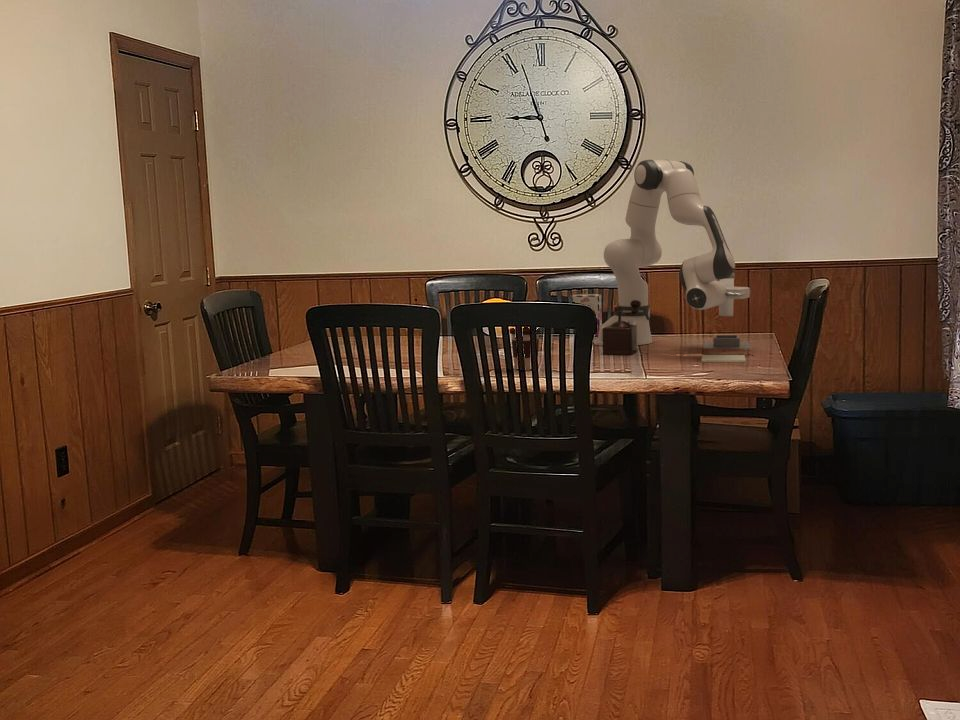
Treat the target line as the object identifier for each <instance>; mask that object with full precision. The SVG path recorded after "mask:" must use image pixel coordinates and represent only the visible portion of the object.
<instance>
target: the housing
mask: <svg viewBox="0 0 960 720" xmlns="http://www.w3.org/2000/svg"><path fill="white" fill-rule="evenodd" d="M712 339H713V341H704V342H703V348H702V349H731V350H733V349H735V350H736V349H737V350H738V349H739V350H740V349H742V350H743V349H751V345H750V342H749V341H740V340H741V337H740V334H713V338H712Z"/></svg>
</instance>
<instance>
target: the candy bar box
mask: <svg viewBox="0 0 960 720" xmlns="http://www.w3.org/2000/svg"><path fill="white" fill-rule="evenodd" d="M572 302H575V303H581V304H585V305H589V306H591V307H592V308H593V310H594V311H595V314H596V318H597V333H596V336H595V337H598V333H599V329H600V327H601V325H603V318H602V317H603V316H602V315H603V313H602V308H603V307H602V294H601V293H600V294H597V293H596V294H594V293H592V294H589V293H588V294H573V295H572V296H571V303H572Z"/></svg>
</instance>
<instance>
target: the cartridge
mask: <svg viewBox="0 0 960 720" xmlns="http://www.w3.org/2000/svg"><path fill="white" fill-rule="evenodd" d="M735 277H736V274H735V272H733V273H732V275H731V276H730V277H729V278H726V279H721V280H718V281H719V282H721V283H722V284H724V286H730V287H735ZM734 300H735V299H726V300H725V301H724V302H723V303H722V304H721V305H718V316H720V317H733V316H734Z"/></svg>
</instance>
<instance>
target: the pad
mask: <svg viewBox="0 0 960 720" xmlns="http://www.w3.org/2000/svg"><path fill="white" fill-rule="evenodd" d="M701 363H746V355H745V353H702V355H701Z"/></svg>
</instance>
